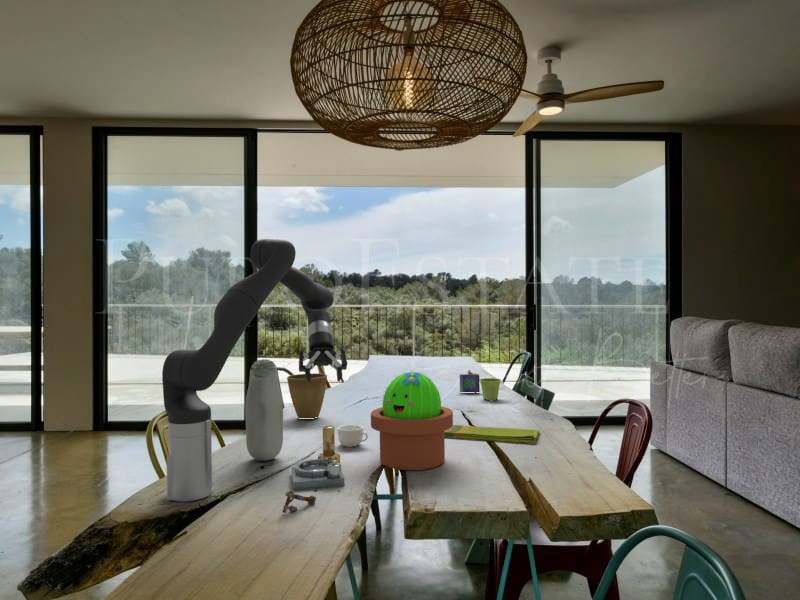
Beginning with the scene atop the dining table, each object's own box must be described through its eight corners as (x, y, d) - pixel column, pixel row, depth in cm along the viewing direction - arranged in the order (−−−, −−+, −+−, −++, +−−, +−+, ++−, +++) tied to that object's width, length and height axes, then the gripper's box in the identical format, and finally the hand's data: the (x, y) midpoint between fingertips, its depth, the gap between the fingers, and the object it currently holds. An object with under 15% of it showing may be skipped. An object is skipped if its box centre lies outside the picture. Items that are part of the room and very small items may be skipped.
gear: (318, 468, 143) (318, 430, 143) (317, 461, 149) (316, 425, 149) (341, 466, 145) (340, 428, 145) (338, 460, 150) (338, 424, 150)
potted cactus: (395, 446, 163) (394, 363, 163) (464, 455, 153) (463, 367, 153) (356, 467, 144) (355, 372, 144) (432, 479, 134) (431, 377, 134)
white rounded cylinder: (243, 457, 154) (242, 358, 154) (280, 452, 158) (278, 356, 158) (248, 467, 145) (247, 362, 145) (286, 462, 149) (285, 360, 149)
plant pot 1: (323, 412, 214) (323, 372, 214) (331, 420, 200) (330, 377, 200) (285, 415, 210) (284, 374, 210) (290, 424, 195) (289, 379, 195)
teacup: (332, 446, 164) (332, 429, 164) (346, 440, 171) (346, 423, 171) (360, 450, 160) (360, 432, 160) (374, 444, 166) (373, 426, 166)
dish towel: (435, 427, 190) (434, 417, 190) (539, 434, 178) (539, 424, 178) (421, 437, 176) (421, 427, 176) (534, 446, 164) (534, 436, 164)
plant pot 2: (503, 401, 232) (502, 381, 232) (481, 401, 232) (480, 381, 232) (499, 397, 242) (499, 378, 242) (478, 397, 242) (478, 378, 242)
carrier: (293, 490, 127) (292, 466, 127) (291, 472, 140) (291, 450, 140) (344, 485, 130) (344, 462, 130) (338, 468, 143) (338, 447, 143)
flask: (459, 393, 253) (459, 370, 253) (459, 392, 256) (459, 369, 256) (479, 393, 252) (479, 370, 252) (479, 392, 255) (479, 369, 255)
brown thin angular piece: (277, 510, 113) (284, 488, 114) (305, 515, 118) (311, 494, 120) (282, 513, 112) (289, 490, 113) (310, 517, 117) (316, 496, 118)
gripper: (297, 331, 165) (299, 374, 154) (344, 329, 168) (349, 371, 157) (297, 347, 170) (299, 389, 159) (342, 345, 174) (347, 386, 162)
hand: (324, 380), depth 158 cm, fingers open, 8 cm apart
